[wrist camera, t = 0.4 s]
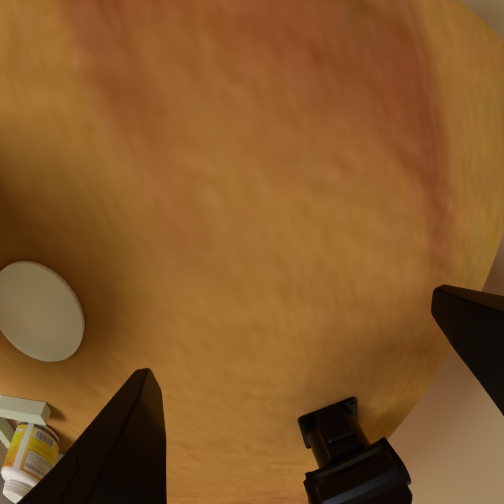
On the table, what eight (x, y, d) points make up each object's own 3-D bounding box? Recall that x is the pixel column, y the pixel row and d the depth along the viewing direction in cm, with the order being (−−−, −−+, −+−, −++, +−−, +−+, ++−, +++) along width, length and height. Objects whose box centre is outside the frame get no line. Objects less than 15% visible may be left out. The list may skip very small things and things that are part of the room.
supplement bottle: (24, 438, 26) (4, 502, 17) (14, 410, 24) (-13, 479, 15) (64, 451, 27) (50, 519, 18) (57, 425, 26) (37, 500, 16)
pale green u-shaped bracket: (45, 402, 24) (40, 415, 23) (81, 462, 28) (79, 475, 27) (-18, 391, 23) (-25, 402, 21) (22, 452, 27) (18, 462, 25)
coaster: (103, 344, 23) (101, 350, 22) (28, 363, 23) (25, 368, 22) (52, 245, 20) (48, 248, 19) (-21, 278, 19) (-26, 282, 18)
